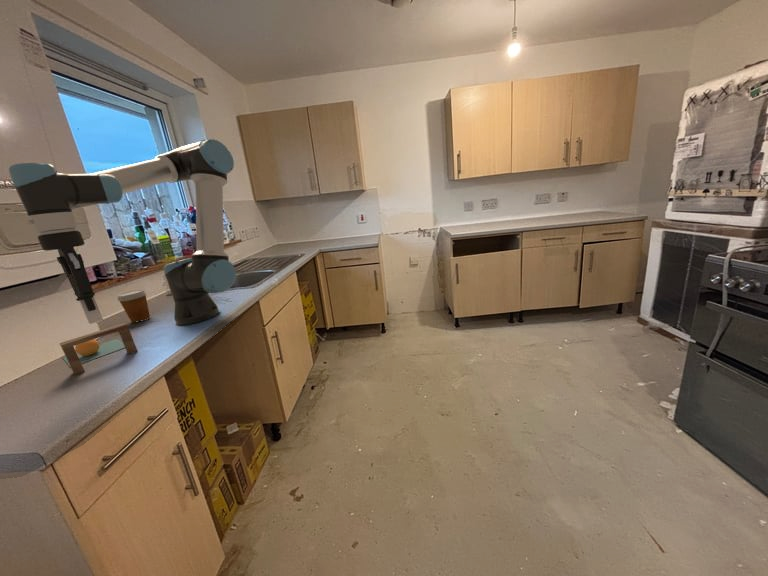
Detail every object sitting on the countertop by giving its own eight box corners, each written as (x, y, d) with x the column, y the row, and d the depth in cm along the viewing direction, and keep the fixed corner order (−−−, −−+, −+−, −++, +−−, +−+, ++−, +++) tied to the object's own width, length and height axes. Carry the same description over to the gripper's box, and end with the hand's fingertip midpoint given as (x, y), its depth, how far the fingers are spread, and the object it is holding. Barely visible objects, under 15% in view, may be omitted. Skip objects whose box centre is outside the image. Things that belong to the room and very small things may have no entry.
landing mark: (116, 339, 110) (116, 338, 110) (128, 346, 101) (128, 346, 101) (62, 357, 99) (62, 357, 99) (70, 367, 91) (70, 367, 91)
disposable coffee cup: (139, 324, 124) (128, 295, 120) (120, 325, 126) (109, 297, 122) (160, 315, 132) (150, 288, 129) (142, 316, 135) (132, 289, 131)
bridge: (73, 372, 87) (59, 343, 85) (134, 349, 98) (124, 322, 96) (75, 375, 86) (61, 345, 83) (137, 351, 96) (127, 324, 94)
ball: (98, 336, 98) (105, 352, 99) (91, 334, 101) (98, 349, 102) (75, 345, 93) (83, 360, 95) (69, 341, 96) (76, 357, 98)
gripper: (33, 235, 76) (72, 323, 83) (39, 233, 68) (82, 331, 75) (74, 230, 82) (107, 313, 89) (84, 228, 74) (120, 319, 81)
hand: (96, 321), depth 82 cm, fingers closed
